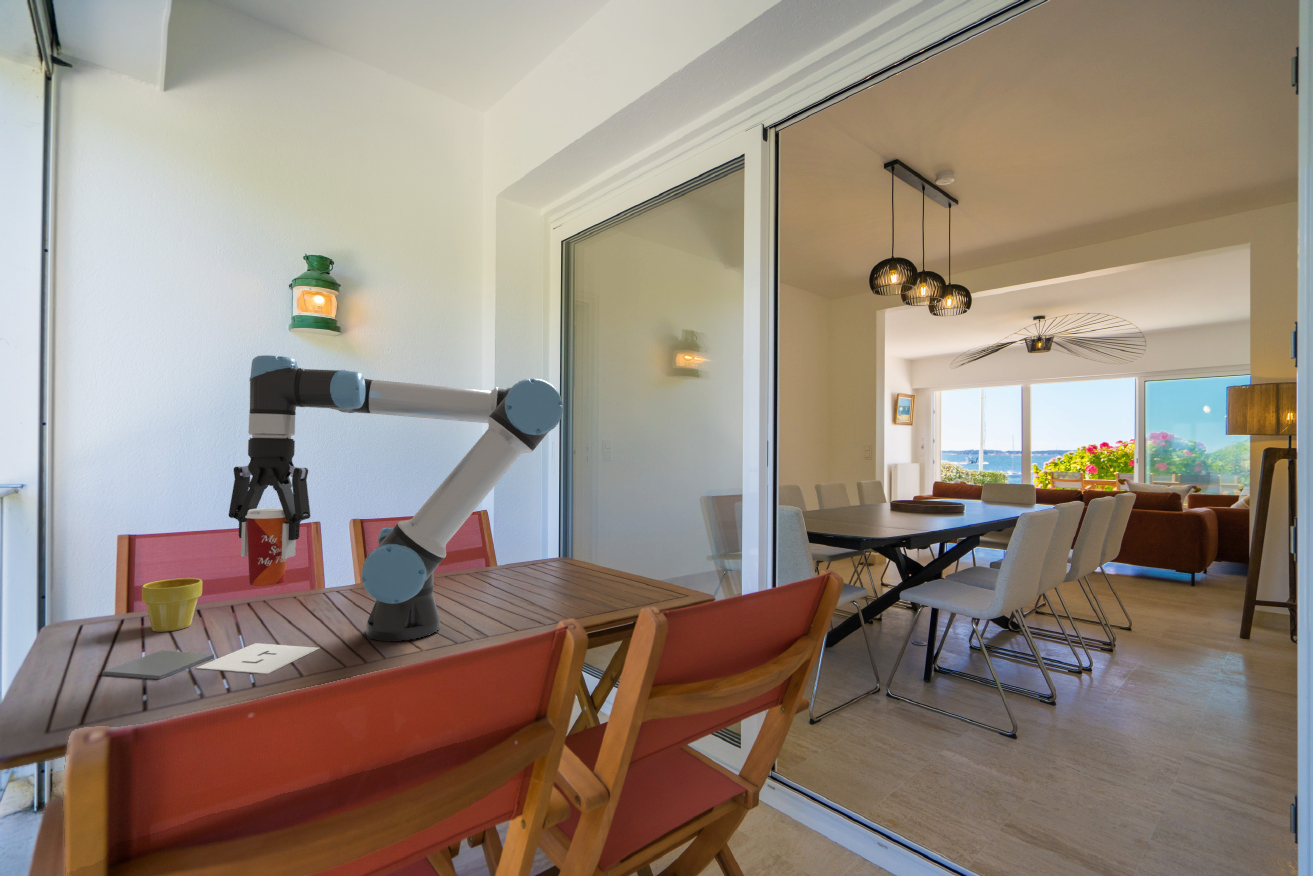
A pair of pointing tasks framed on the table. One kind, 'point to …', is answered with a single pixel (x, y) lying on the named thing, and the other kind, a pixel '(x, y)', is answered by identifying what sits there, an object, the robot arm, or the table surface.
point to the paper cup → (265, 546)
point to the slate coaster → (158, 664)
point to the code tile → (259, 658)
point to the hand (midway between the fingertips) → (268, 556)
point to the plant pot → (171, 602)
